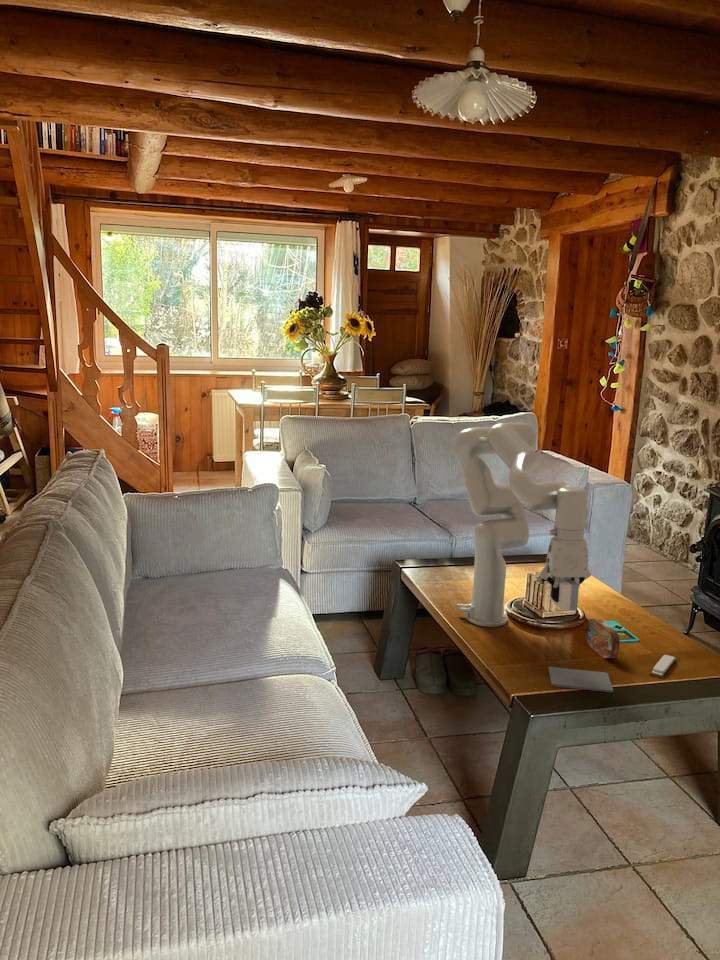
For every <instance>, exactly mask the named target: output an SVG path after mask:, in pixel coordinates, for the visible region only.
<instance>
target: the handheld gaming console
mask: <svg viewBox="0 0 720 960" xmlns="http://www.w3.org/2000/svg"><path fill="white" fill-rule="evenodd" d="M603 621H604V622H605V623H607V624H608V625H609V626H611V627H612V628H613V629H615V630H616V632H617V633H618V636H619V639H620V643H637V642H639V640H640V639H639V638H638V637H637V636H636V635H634V634H633V633H631V631H629V630H628V629H626V628H625V627H624V626H623V625H621V624H620V623H619V622H617V621H615V620H603ZM626 634H627V635H628V636H629V637H630V638H620V637H622V636H623V635H624V636H626Z"/></svg>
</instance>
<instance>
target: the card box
mask: <svg viewBox="0 0 720 960" xmlns="http://www.w3.org/2000/svg"><path fill="white" fill-rule="evenodd" d="M558 588H559V600H558V602H555V601H554V600H553V599H552V598H551V587H550V590H549V601H551V602H552V603H553V604H554V605H556V607H558V608H559V610H560V611H562V612H572V611H573V612H575V611H578V602H579V601H578V600H579V592H580V591H579V590H580V586H579V585H578V584H577V583H576V582H575V581H573V580H572V579H571V578H560V580H559V584H558Z"/></svg>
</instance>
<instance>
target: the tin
mask: <svg viewBox="0 0 720 960" xmlns="http://www.w3.org/2000/svg"><path fill="white" fill-rule="evenodd" d="M604 621H605V620H602V619H600V618H591V619H589V620H588V622H587V624H586V628H585V639H586V643H587V644H588V646H589V647H590V648H591V649H592V650H593V651H595V652H596V653H597V654H598V655H599V656H600V657H601V658H602V659H614V658H617V656H618V654H619V650H620V644H621V642H620V639H621V638H620V637H619V636H620V635H619V634H618V633H617V632H616V630H615V629H613V628H612V627H611V626H609V625H608V624H607V623H605V622H604Z"/></svg>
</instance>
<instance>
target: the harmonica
mask: <svg viewBox="0 0 720 960" xmlns="http://www.w3.org/2000/svg"><path fill="white" fill-rule="evenodd" d="M676 661H677V657H675V656H672V655H668V654H664V655H662V656H661V658H660V659H659V660H658V662H656V664H655V666H653V668H652V671H651V672H650V673H649V676H651V677H654V678H658V679H663V678H664V677H665V675H666V674H667V672H668V671H669V670H670V668H671V667H672V666H673V665H674V664H675V662H676Z"/></svg>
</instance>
